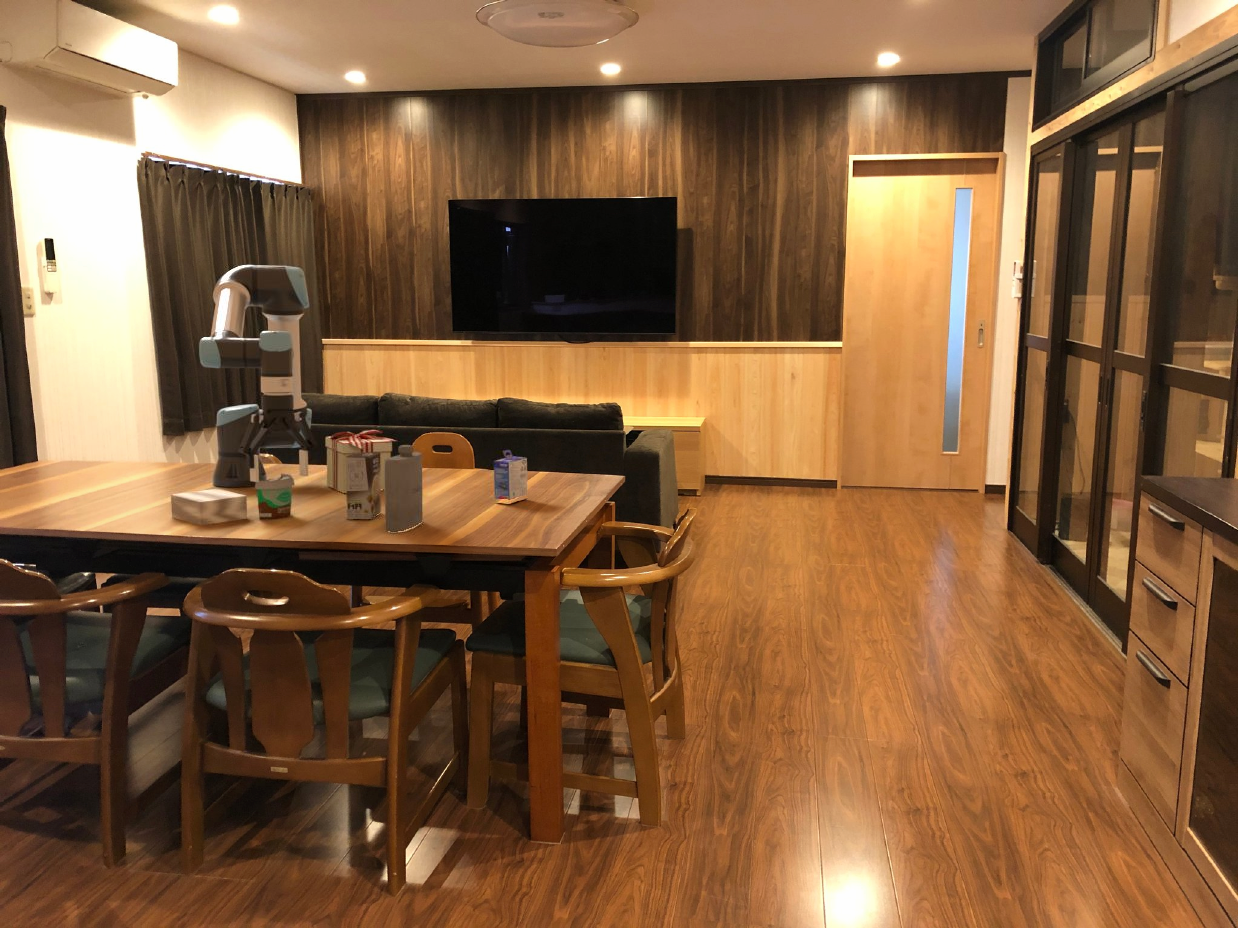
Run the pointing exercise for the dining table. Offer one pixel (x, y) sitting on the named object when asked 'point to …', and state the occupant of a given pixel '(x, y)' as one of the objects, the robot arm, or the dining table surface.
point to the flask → (403, 490)
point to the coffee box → (363, 485)
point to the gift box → (349, 445)
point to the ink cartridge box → (510, 477)
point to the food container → (275, 497)
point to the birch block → (209, 506)
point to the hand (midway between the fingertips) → (279, 478)
